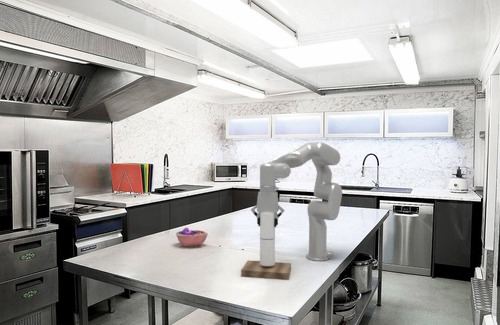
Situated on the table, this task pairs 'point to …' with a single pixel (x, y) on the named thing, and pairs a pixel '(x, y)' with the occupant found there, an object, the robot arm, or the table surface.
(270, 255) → the cylindrical container
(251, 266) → the walnut base board
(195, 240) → the cell model
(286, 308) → the table surface
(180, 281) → the table surface
